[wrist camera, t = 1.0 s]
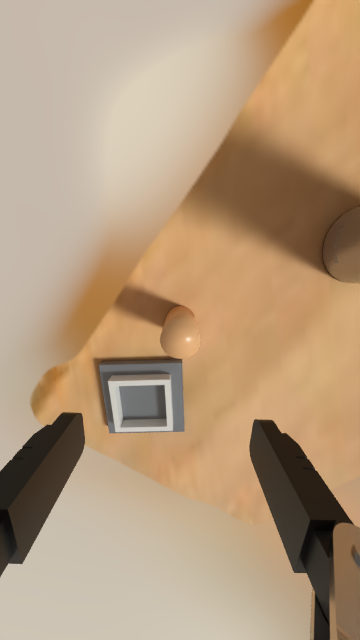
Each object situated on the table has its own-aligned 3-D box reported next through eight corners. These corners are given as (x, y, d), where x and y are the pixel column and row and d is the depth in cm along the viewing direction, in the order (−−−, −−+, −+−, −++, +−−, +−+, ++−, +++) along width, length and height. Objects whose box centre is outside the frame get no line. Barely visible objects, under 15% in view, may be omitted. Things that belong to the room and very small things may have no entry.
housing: (181, 359, 28) (182, 368, 25) (184, 425, 31) (184, 439, 28) (102, 361, 28) (93, 370, 25) (112, 427, 31) (105, 441, 28)
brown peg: (194, 305, 26) (200, 320, 18) (194, 333, 27) (200, 358, 19) (165, 306, 26) (158, 321, 18) (167, 333, 27) (161, 359, 19)
